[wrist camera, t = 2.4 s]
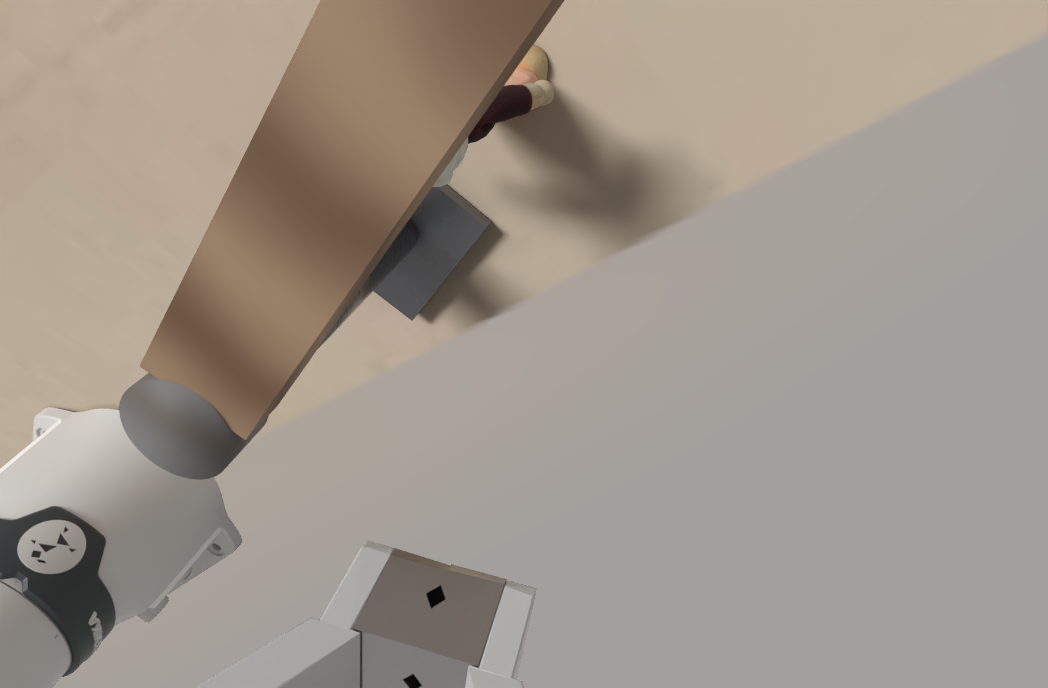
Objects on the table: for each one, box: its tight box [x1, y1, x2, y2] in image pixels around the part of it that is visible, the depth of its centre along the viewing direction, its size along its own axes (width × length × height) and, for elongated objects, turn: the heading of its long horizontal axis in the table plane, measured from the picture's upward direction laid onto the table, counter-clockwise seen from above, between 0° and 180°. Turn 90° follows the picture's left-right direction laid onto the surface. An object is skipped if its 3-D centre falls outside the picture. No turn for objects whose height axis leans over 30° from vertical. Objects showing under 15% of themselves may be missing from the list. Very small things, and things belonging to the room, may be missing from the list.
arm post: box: [319, 184, 491, 347], centre depth 32 cm, size 8×8×17 cm
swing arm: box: [119, 0, 564, 480], centre depth 19 cm, size 20×4×2 cm, turn 142°
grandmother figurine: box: [433, 45, 554, 187], centre depth 28 cm, size 8×4×13 cm, turn 118°
